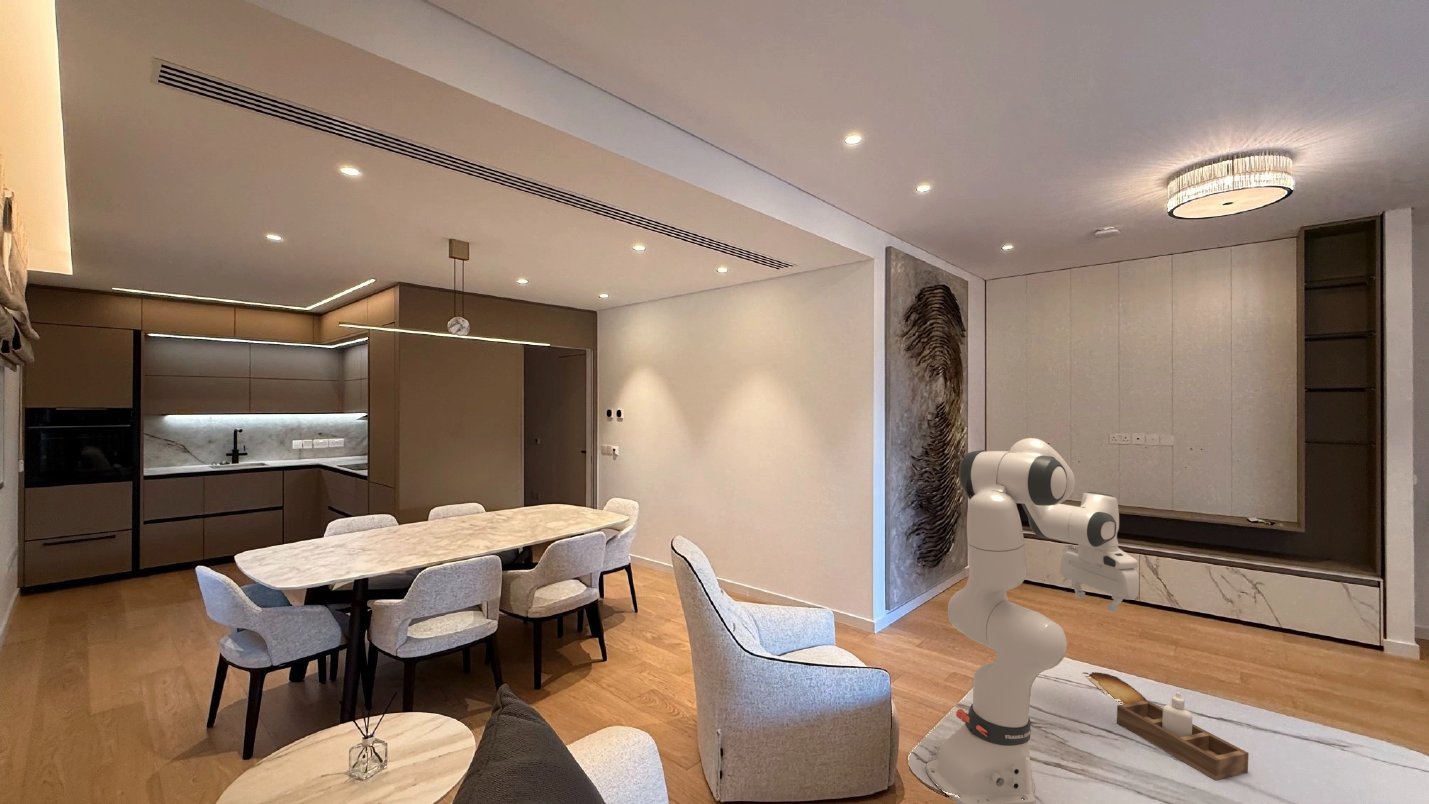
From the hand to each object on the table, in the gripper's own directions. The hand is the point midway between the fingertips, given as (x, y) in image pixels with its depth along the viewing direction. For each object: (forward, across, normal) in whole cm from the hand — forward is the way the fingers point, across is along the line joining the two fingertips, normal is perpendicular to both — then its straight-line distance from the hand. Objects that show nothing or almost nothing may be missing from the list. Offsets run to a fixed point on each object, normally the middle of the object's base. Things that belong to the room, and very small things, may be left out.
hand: (1095, 604), depth 153 cm
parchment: (+30, -5, +17) cm, 34 cm away
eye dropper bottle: (+28, +17, +7) cm, 34 cm away
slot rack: (+29, +17, +7) cm, 34 cm away
